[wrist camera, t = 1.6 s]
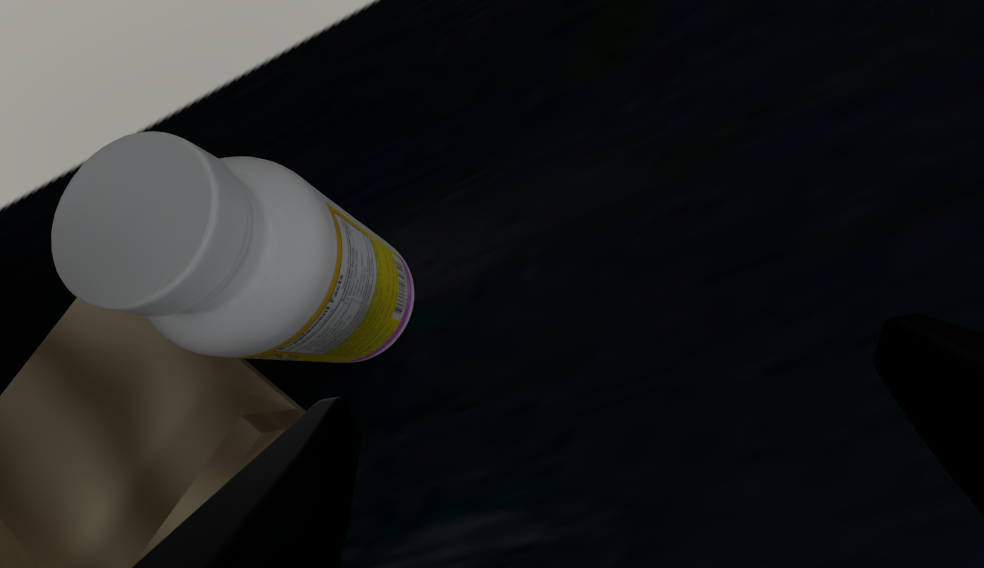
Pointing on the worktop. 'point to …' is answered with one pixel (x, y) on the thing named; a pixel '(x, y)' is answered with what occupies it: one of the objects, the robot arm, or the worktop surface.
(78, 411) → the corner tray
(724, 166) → the worktop surface
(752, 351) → the worktop surface
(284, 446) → the robot arm
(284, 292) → the supplement bottle
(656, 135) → the worktop surface
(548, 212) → the worktop surface
